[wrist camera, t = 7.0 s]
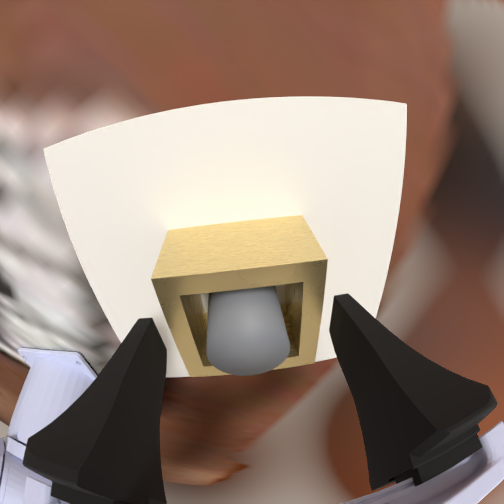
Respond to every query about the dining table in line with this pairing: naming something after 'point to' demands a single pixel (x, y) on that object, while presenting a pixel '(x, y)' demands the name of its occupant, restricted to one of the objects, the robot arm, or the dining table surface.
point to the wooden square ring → (241, 281)
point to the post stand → (235, 207)
